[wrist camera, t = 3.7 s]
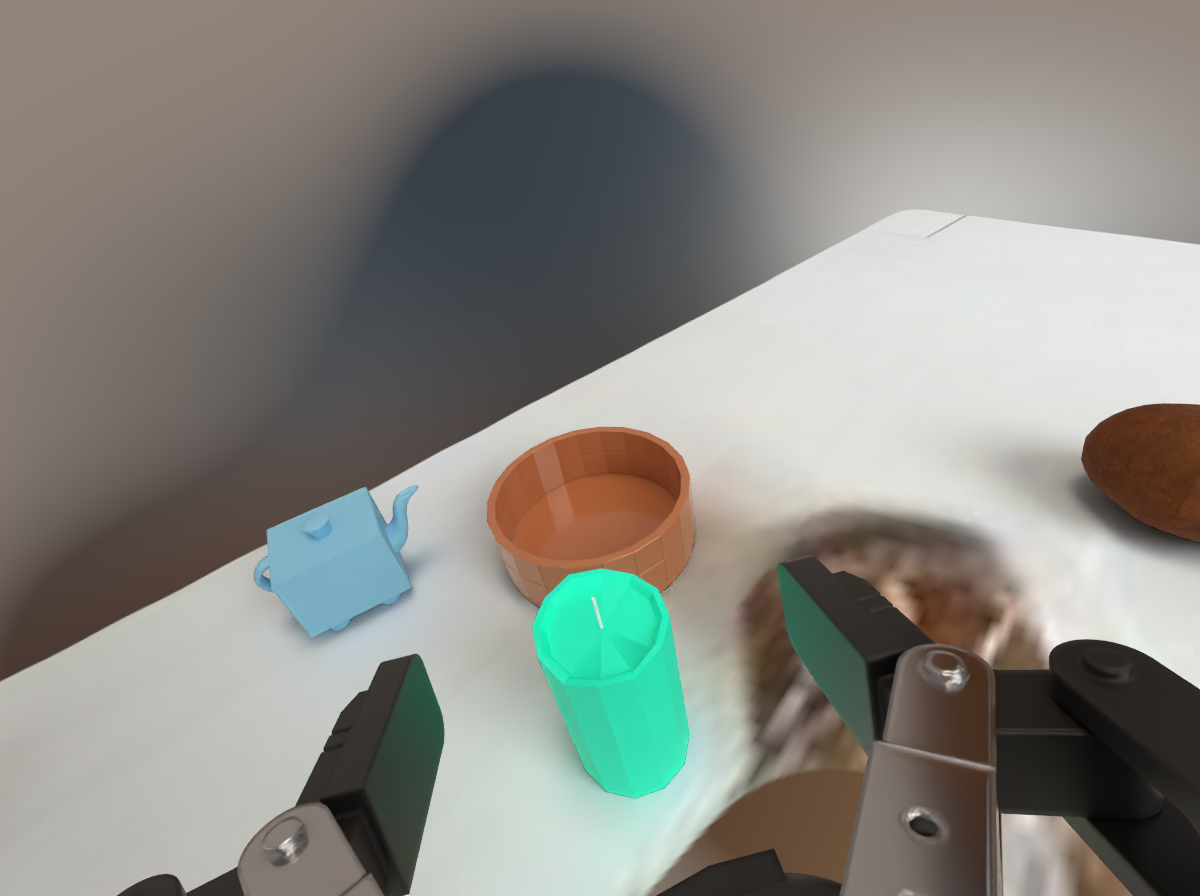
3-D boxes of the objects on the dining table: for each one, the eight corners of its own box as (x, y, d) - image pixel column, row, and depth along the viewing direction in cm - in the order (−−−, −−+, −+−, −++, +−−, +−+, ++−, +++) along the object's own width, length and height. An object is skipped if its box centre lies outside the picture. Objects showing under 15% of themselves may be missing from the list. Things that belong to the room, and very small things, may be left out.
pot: (677, 631, 36) (669, 579, 33) (474, 603, 41) (450, 555, 38) (708, 479, 46) (704, 429, 43) (543, 470, 51) (529, 424, 48)
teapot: (438, 526, 48) (404, 455, 43) (460, 573, 43) (424, 499, 39) (289, 597, 44) (234, 528, 40) (295, 657, 40) (234, 586, 35)
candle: (560, 722, 33) (502, 586, 26) (650, 666, 34) (619, 524, 27) (613, 823, 28) (560, 694, 21) (712, 754, 30) (695, 612, 23)
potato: (1288, 602, 31) (1376, 500, 26) (1047, 521, 38) (1084, 428, 33) (1301, 508, 35) (1379, 406, 31) (1082, 450, 42) (1120, 360, 37)
